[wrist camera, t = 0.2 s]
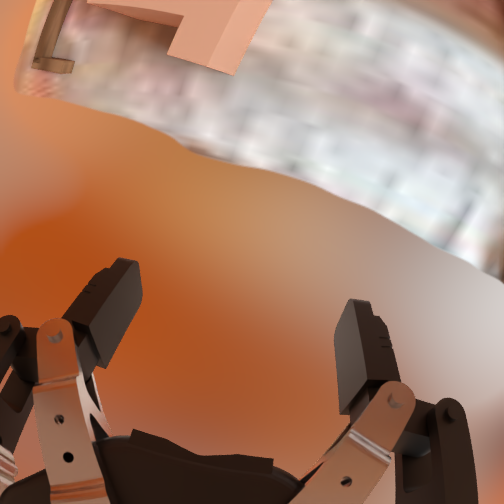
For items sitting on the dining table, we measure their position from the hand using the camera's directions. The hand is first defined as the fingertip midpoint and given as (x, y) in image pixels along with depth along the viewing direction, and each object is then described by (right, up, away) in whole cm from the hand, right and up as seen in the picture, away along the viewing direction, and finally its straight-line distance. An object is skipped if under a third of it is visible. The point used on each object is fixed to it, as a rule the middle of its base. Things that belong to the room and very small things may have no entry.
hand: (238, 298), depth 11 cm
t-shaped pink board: (-7, +31, +16) cm, 36 cm away
